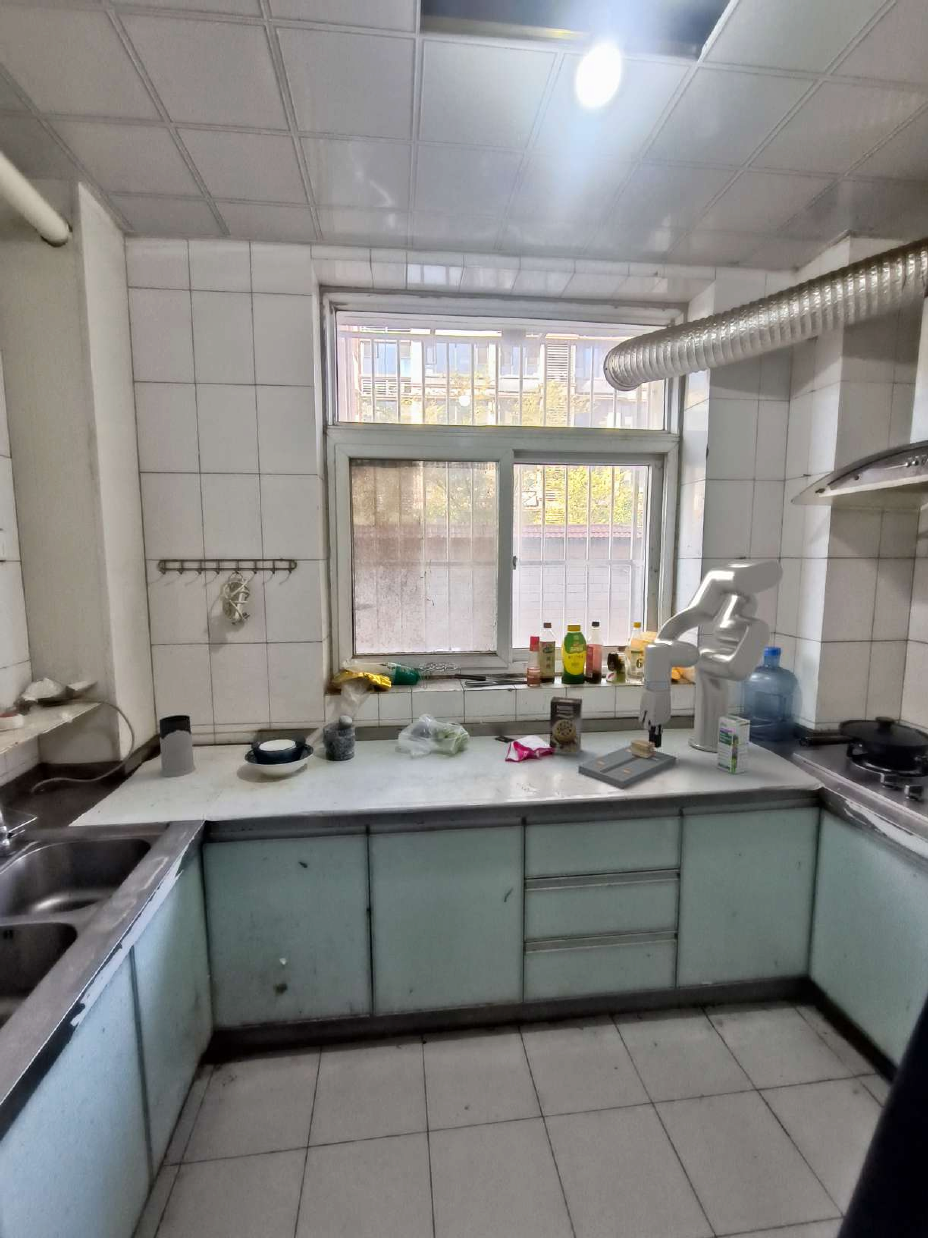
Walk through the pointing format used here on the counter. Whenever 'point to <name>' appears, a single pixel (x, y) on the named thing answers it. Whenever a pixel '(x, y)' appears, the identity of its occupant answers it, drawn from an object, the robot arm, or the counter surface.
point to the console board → (625, 767)
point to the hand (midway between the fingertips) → (654, 746)
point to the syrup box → (733, 744)
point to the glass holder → (176, 746)
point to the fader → (642, 748)
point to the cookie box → (565, 725)
